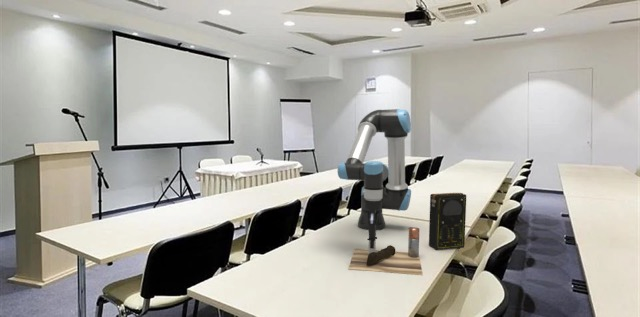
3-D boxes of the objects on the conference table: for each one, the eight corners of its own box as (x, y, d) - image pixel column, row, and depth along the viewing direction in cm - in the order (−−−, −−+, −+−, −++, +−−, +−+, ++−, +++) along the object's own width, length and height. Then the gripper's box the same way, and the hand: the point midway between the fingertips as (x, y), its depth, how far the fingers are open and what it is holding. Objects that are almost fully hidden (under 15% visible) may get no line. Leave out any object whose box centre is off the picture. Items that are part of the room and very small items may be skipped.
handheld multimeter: (436, 251, 163) (438, 196, 161) (426, 245, 172) (427, 192, 169) (466, 248, 167) (468, 194, 165) (455, 242, 176) (456, 191, 174)
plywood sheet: (354, 249, 166) (354, 248, 166) (418, 253, 160) (418, 253, 160) (348, 269, 142) (348, 268, 142) (422, 275, 137) (422, 274, 137)
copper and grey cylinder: (407, 253, 160) (408, 226, 158) (418, 254, 159) (419, 227, 158) (408, 257, 155) (408, 229, 154) (418, 258, 154) (419, 230, 153)
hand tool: (387, 252, 160) (388, 242, 159) (395, 255, 157) (396, 245, 157) (360, 264, 146) (361, 253, 146) (369, 267, 144) (369, 256, 143)
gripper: (365, 195, 158) (364, 249, 160) (362, 201, 145) (361, 259, 147) (382, 196, 156) (381, 250, 158) (381, 202, 143) (380, 261, 145)
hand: (371, 255), depth 153 cm, fingers closed
